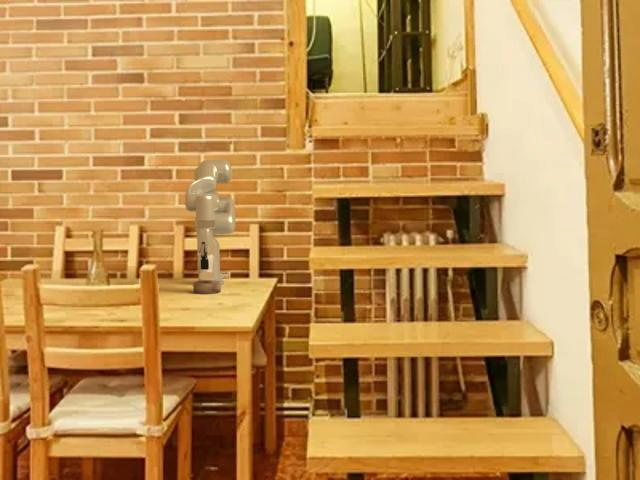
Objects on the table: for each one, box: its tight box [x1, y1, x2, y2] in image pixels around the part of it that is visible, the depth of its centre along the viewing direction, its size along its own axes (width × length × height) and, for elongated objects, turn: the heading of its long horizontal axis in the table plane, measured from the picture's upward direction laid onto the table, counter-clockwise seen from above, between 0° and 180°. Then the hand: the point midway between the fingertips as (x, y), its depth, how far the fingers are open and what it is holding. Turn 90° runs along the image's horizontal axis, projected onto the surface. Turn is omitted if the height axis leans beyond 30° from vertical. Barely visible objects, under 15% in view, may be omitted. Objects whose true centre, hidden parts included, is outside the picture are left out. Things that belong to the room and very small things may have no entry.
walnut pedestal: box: [192, 280, 221, 295], centre depth 293 cm, size 11×11×4 cm
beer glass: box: [197, 243, 215, 280], centre depth 292 cm, size 7×7×15 cm
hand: (206, 267), depth 292 cm, fingers closed on beer glass, 6 cm apart
